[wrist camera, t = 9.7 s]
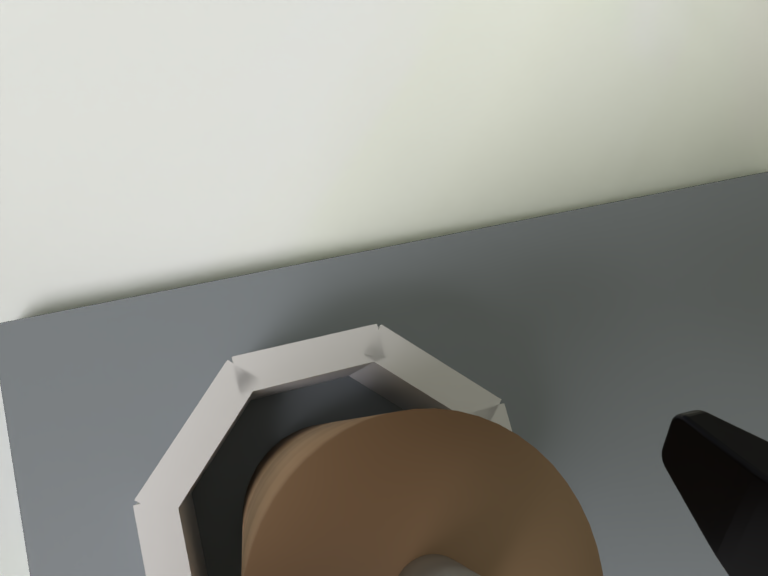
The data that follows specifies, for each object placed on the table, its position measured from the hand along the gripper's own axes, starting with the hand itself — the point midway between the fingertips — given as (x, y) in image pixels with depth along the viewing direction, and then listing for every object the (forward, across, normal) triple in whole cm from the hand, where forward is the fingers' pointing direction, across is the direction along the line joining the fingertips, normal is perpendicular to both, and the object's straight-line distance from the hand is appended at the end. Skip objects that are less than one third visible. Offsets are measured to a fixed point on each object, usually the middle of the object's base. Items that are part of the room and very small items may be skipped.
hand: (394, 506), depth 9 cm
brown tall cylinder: (+5, 0, +6) cm, 8 cm away
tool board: (+6, -6, +7) cm, 11 cm away
